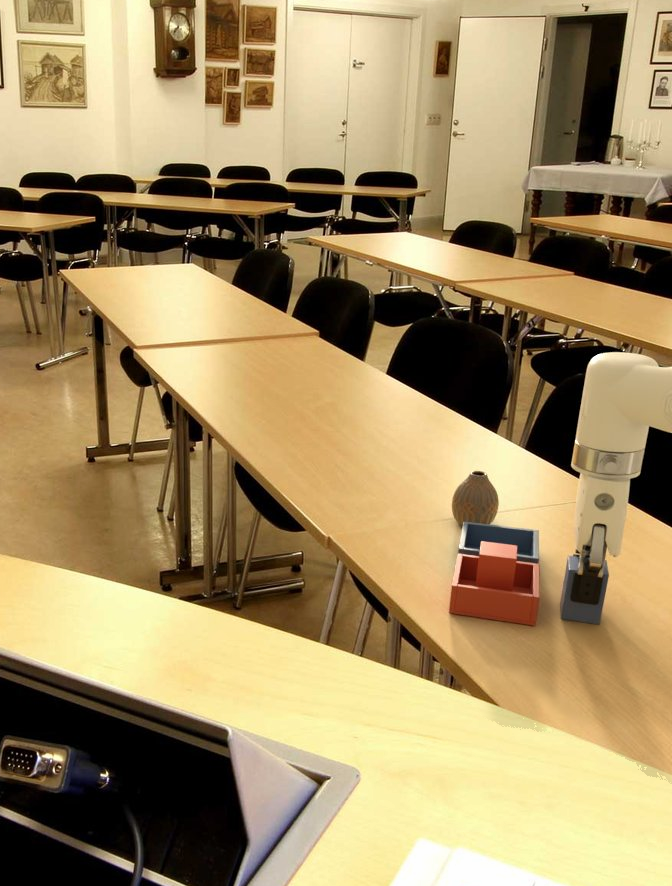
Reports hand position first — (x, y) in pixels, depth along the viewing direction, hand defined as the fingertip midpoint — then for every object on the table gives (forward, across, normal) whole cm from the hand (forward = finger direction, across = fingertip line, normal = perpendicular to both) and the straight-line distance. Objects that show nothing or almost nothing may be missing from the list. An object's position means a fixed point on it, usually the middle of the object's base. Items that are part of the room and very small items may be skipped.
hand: (583, 591), depth 116 cm
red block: (+3, 0, +11) cm, 11 cm away
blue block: (+3, 0, 0) cm, 3 cm away
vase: (+3, +26, +14) cm, 30 cm away
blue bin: (+3, +12, +10) cm, 16 cm away
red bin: (+3, 0, +10) cm, 11 cm away
